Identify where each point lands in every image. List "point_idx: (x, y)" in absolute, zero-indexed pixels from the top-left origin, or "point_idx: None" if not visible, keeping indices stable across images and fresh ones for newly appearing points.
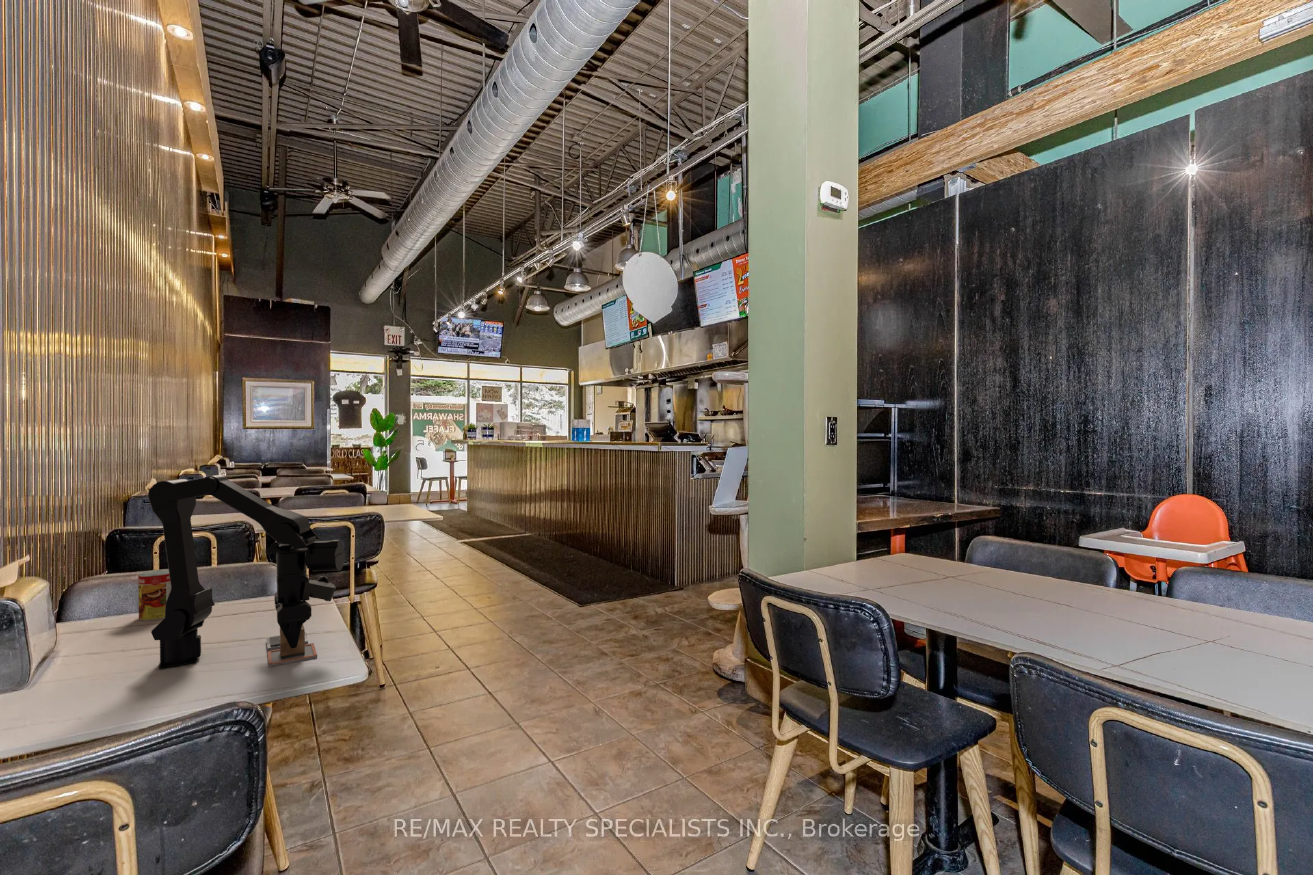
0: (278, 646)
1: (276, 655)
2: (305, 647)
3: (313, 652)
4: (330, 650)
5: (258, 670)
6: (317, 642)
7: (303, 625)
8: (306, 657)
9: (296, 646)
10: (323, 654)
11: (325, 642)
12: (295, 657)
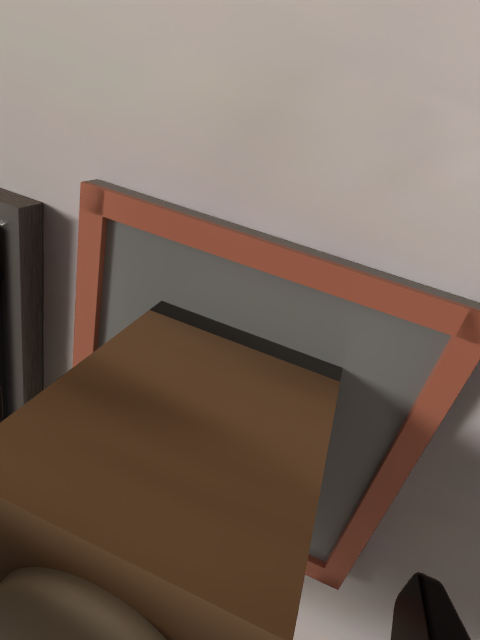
0: (24, 398)
1: None
2: (141, 274)
3: (378, 308)
4: (391, 104)
5: (354, 618)
6: (28, 114)
7: (39, 515)
8: (451, 401)
9: (445, 593)
10: (457, 221)
11: (71, 45)
12: (345, 438)
